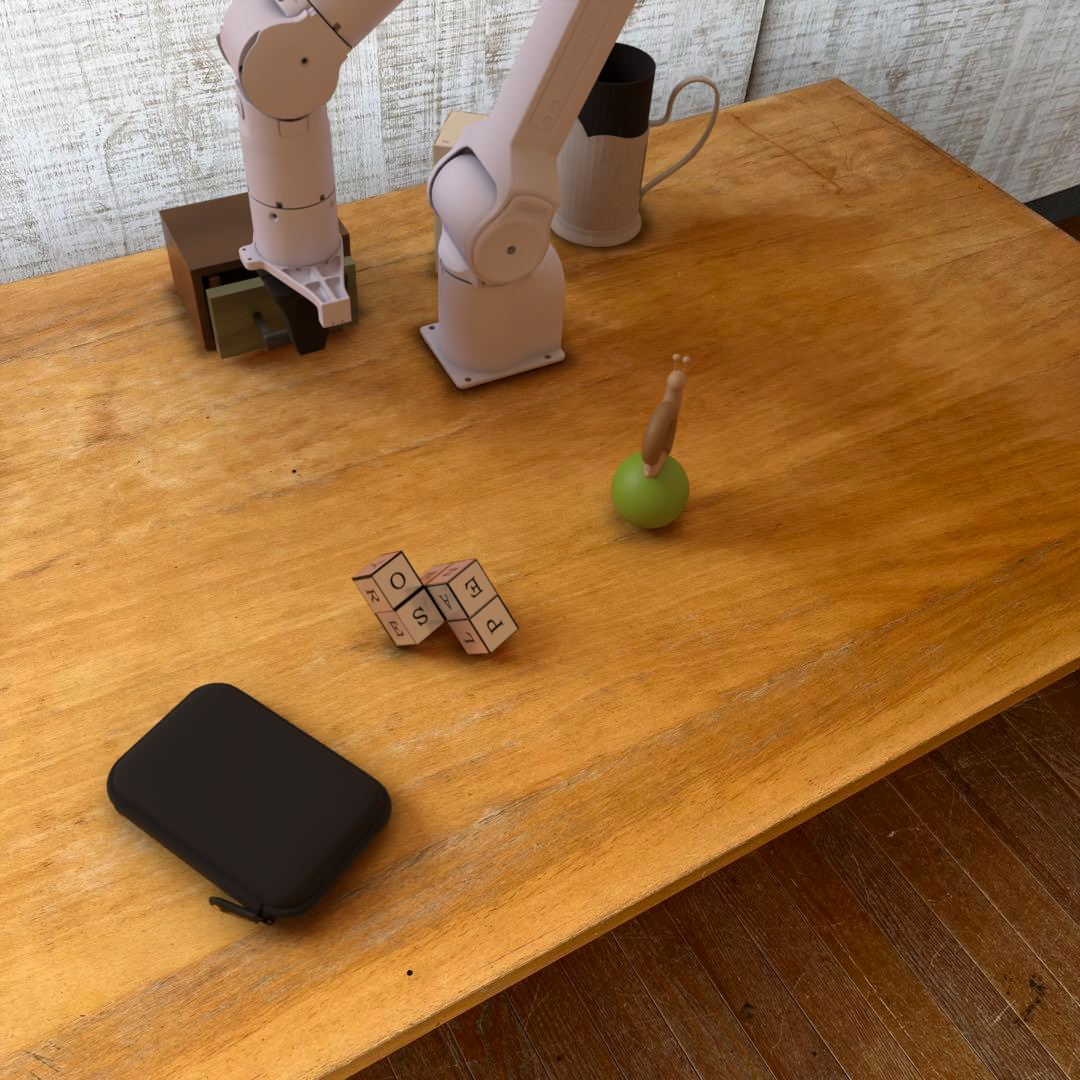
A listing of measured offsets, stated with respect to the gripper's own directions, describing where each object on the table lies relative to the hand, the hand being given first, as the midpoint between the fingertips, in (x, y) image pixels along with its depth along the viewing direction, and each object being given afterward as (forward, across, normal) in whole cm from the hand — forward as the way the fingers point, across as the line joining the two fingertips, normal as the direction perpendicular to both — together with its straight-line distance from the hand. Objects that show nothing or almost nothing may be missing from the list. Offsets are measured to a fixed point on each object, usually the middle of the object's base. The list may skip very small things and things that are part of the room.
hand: (309, 347), depth 88 cm
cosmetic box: (+4, -11, +18) cm, 21 cm away
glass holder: (+4, -11, +34) cm, 36 cm away
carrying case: (+4, +33, -16) cm, 37 cm away
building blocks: (+4, +26, -1) cm, 26 cm away
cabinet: (+4, -12, 0) cm, 12 cm away
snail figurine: (+4, +22, +17) cm, 28 cm away
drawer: (+3, -7, 0) cm, 7 cm away
